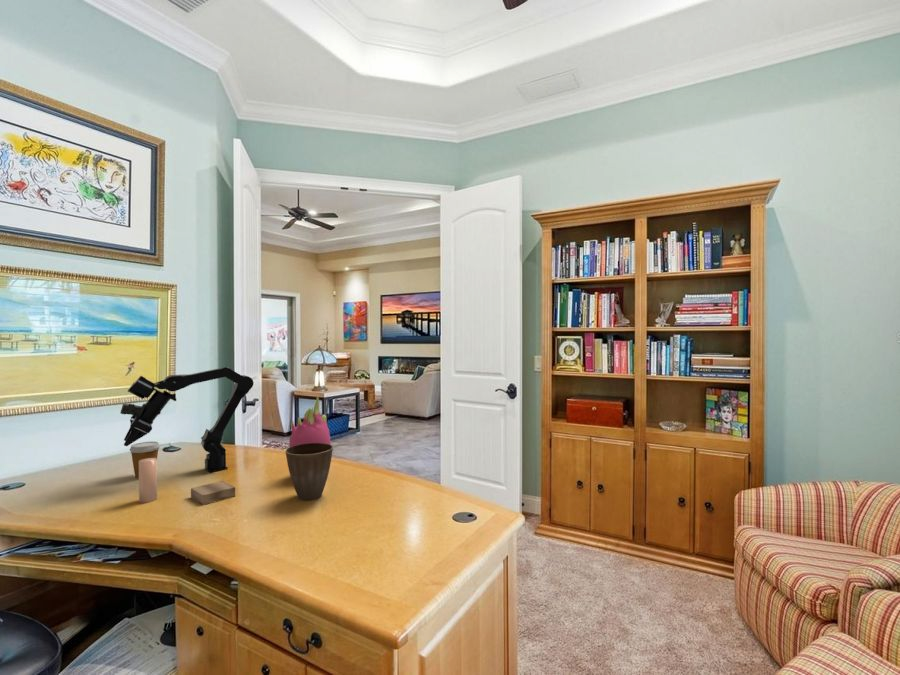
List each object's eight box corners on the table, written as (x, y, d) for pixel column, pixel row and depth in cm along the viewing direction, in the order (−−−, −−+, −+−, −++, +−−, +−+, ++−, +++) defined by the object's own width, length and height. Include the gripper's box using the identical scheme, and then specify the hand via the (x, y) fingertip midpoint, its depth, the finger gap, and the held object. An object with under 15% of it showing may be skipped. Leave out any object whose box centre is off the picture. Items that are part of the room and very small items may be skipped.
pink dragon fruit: (316, 467, 181) (315, 392, 180) (340, 472, 174) (340, 395, 173) (279, 479, 165) (278, 398, 165) (304, 485, 158) (304, 401, 158)
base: (222, 489, 155) (222, 480, 155) (235, 496, 148) (235, 487, 148) (190, 497, 148) (190, 488, 147) (202, 504, 141) (202, 495, 141)
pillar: (154, 496, 149) (153, 457, 149) (158, 499, 145) (158, 459, 145) (137, 500, 145) (136, 460, 145) (141, 504, 142) (141, 463, 142)
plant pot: (319, 506, 139) (319, 455, 139) (276, 503, 142) (276, 453, 142) (340, 490, 154) (340, 443, 154) (301, 487, 157) (300, 441, 157)
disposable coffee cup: (148, 479, 165) (148, 447, 165) (123, 479, 166) (123, 447, 166) (165, 471, 175) (165, 441, 175) (141, 471, 175) (141, 441, 175)
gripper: (132, 391, 170) (102, 428, 165) (133, 397, 155) (100, 437, 150) (161, 406, 175) (133, 442, 170) (164, 413, 160) (134, 452, 155)
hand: (125, 443), depth 161 cm, fingers open, 9 cm apart
